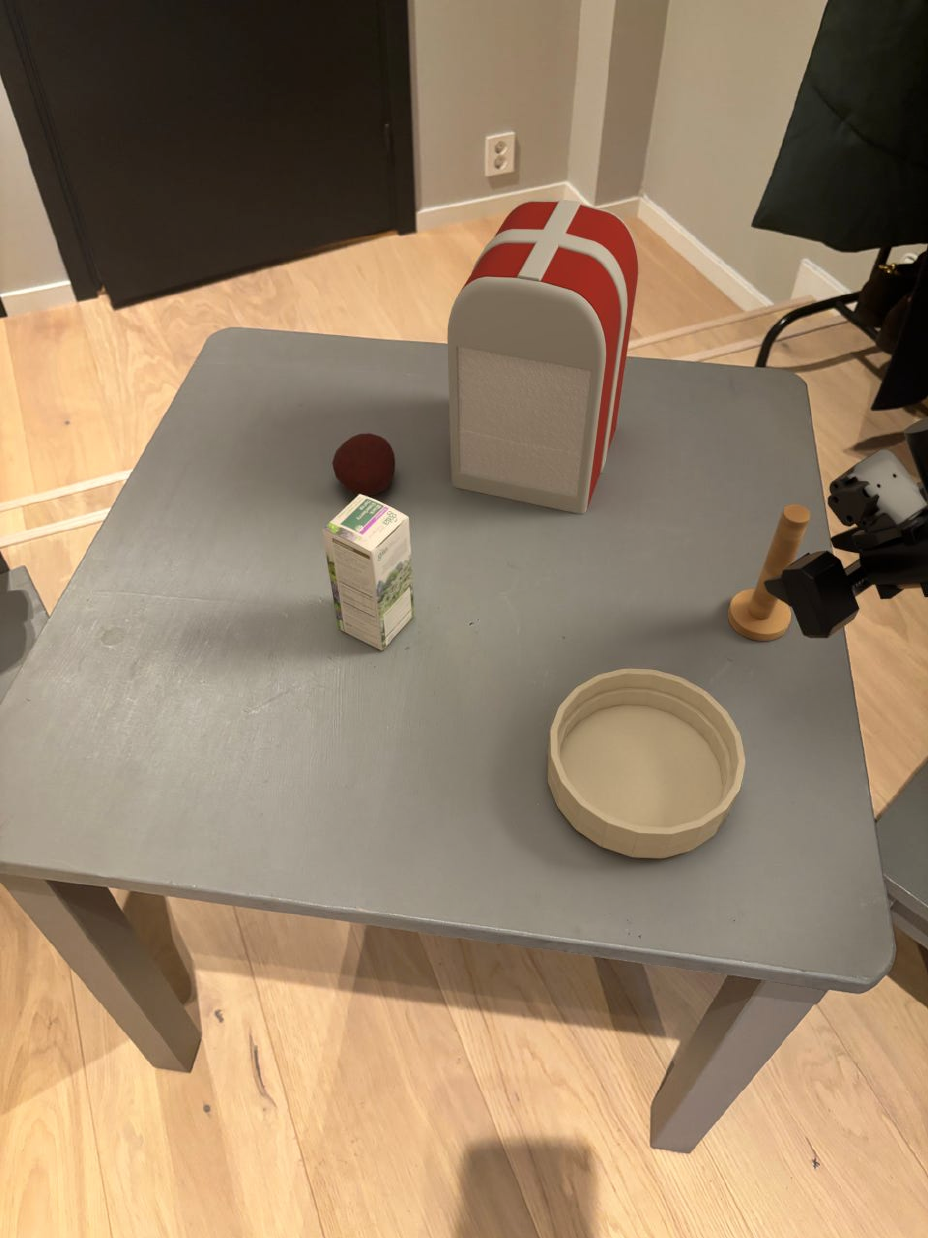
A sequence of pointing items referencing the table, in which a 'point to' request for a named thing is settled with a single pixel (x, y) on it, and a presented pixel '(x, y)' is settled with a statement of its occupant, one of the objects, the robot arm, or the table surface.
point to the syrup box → (370, 570)
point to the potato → (364, 464)
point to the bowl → (644, 762)
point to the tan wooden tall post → (756, 607)
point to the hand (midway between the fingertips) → (800, 563)
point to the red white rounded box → (541, 354)
